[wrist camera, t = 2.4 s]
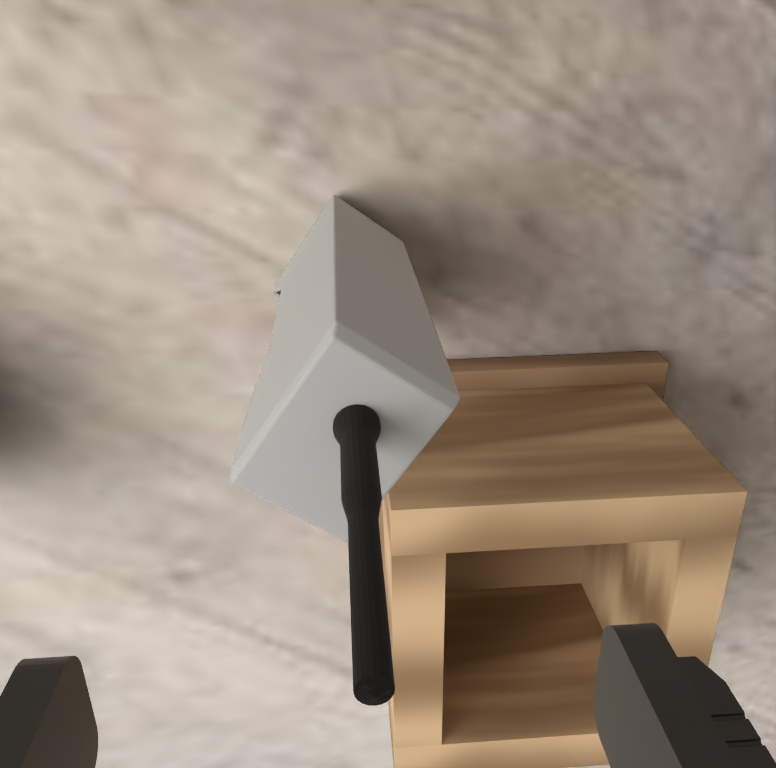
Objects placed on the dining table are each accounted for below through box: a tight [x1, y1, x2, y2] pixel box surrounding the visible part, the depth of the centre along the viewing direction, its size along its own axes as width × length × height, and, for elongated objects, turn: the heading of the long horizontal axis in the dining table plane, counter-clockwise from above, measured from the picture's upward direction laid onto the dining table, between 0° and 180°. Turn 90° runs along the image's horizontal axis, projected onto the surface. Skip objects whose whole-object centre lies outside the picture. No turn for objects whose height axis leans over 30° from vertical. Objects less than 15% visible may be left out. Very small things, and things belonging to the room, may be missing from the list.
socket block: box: [378, 351, 747, 768], centre depth 34 cm, size 16×15×11 cm
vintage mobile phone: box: [230, 195, 460, 705], centre depth 22 cm, size 4×5×25 cm
